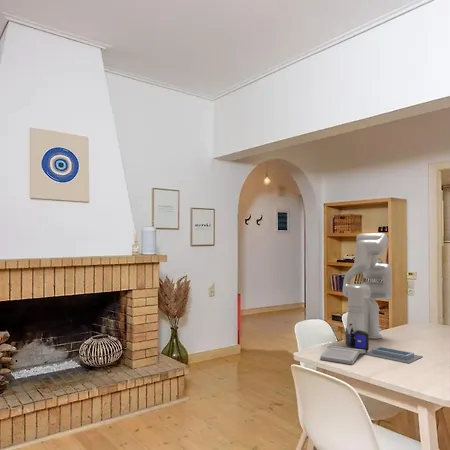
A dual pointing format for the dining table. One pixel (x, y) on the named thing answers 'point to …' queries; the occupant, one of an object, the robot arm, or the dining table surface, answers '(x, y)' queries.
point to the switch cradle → (393, 354)
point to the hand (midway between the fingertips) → (356, 345)
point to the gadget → (341, 354)
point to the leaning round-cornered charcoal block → (359, 340)
